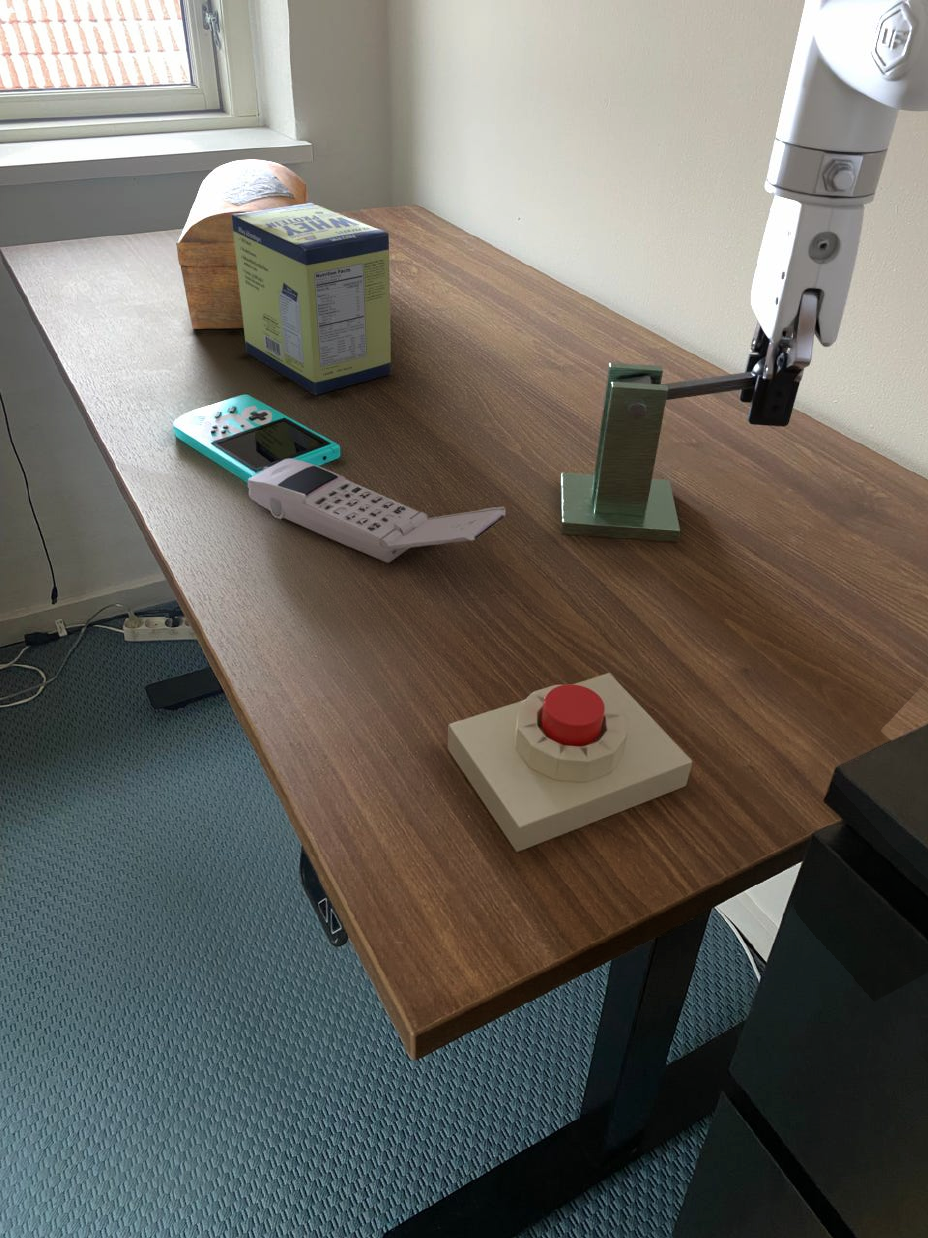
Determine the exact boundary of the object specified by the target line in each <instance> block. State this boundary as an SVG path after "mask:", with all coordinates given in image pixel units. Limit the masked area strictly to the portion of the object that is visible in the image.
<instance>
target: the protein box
mask: <svg viewBox="0 0 928 1238" xmlns="http://www.w3.org/2000/svg"><path fill="white" fill-rule="evenodd" d="M231 216H232V223H233V233H234V242H235V251H236V261H237V270H238V279H239V288H240V297H241V306H242V316H243V325H244V328H243V331H244V333H243V334H244V341H245V351H246V353H247V354H248V355H250V356H251V357H253V358H255V359H256V360H258V361H259V362H261V363H263V364H264V365H266V366H267V367H269V368H270V369H272V370H274V371H275V372H277V373H278V374H279V375H282V376H284V377H285V378H286V379H288V380H289V381H291V382H293V383H295V384H296V385H298V386H299V387H301V388H302V389H304V390H306V391H307V392H309V393H310V394H312V395H314V396H317V395H321V394H325V393H329V392H332V391H336V390H339V389H342V388H346V387H349V386H353V385H357V384H360V383H364V382H368V381H371V380H375V379H378V378H382V377H385V376H389V375H392V355H391V351H392V350H391V345H392V343H391V290H390V289H391V287H390V283H391V281H390V276H391V275H390V237H389V236H390V234H389V232H386V231H385V230H382V229H379V228H376V227H374V226H371V225H369V224H366V223H364V222H361V221H358V220H356V219H354V218H353V219H352V218H350V217H347V216H345V215H343V214H340V213H338V212H336V211H332V210H330V209H328V208H325V207H323V206H320V205H318V204H315V203H313V202H308V204H301V205H294V206H288V207H281V208H274V209H267V210H260V211H253V212H246V213H239V214H232V215H231Z"/></svg>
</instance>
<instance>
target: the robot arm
mask: <svg viewBox="0 0 928 1238" xmlns="http://www.w3.org/2000/svg"><path fill="white" fill-rule="evenodd" d="M781 106H782V107H781V112H780V115H779V121H778V125H777V130H776V134H775V138H774V143H773V146H772V151H771V156H770V160H769V165H768V170H767V174H766V175H767V176H766V180H765V182H764V189H765V191H766V192H768V193H770V194H771V195H774V198H773V201H772V205H771V206H770V212H769V215H768V219H767V222H766V226H765V230H764V234H763V237H762V240H761V241H762V242H761V246H760V248H759V249H760V250H759V254H758V258H757V262H756V266H755V271H754V276H753V281H752V286H751V294H750V304H751V307H752V311H753V313H754V315H755V317H756V319H757V320H756V325H755V328H754V332H753V335H752V339H751V342H750V353H748V355H747V360H746V364H745V368H744V373H745V372H752V370H753V368H754V366H755V365H756V363H757V362H758V361H760V360H761V359H762V358H764V357H766V361H765V366H764V371H763V375H759V374H758V377H757V381H756V385H755V389H754V388H749V389H742V390H739V395H738V397H739V400H740V402H741V403H747V404H750V406H749V409H748V410H749V411H748V414H747V420H748V423H749V424H750V425H754V426H767V427H783V428H784V427H787V426H788V425H789V424H790V420H791V418H792V417H791V416H792V413H793V409H794V406H795V403H796V398H797V395H798V391H799V387H800V383H801V381H802V379H803V375H804V371H805V368H808V367H809V366H810V365H811V362H812V358H813V349H814V341H815V337H816V339H817V340H818V342H819V343H820V345H821V346H822V347H824V348H829V347H831V346H832V345H834V344H835V342H836V341H837V340H838V339H837V338H838V334H839V331H840V329H841V328H840V327H841V324H842V319H843V315H844V312H845V307H846V302H847V300H848V295H849V291H850V287H851V282H852V278H853V275H854V270H855V266H856V261H857V257H858V251H859V246H860V241H861V235H862V229H863V223H864V215H865V213H864V212H865V205H868V204H871V203H872V202H873V201H874V199H875V196H876V192H877V188H878V185H879V180H880V178H881V174H882V171H883V167H884V163H885V160H886V157H887V153H888V150H889V149H888V148H889V146H890V144H891V139H892V136H893V132H894V130H895V126H896V122H897V119H898V115H899V111H907V112H928V0H805V2H804V6H803V11H802V16H801V20H800V25H799V29H798V34H797V39H796V44H795V47H794V52H793V56H792V62H791V66H790V70H789V75H788V79H787V84H786V89H785V93H784V97H783V101H782V105H781ZM778 355H780V356H779V357H778V359H777V356H778Z"/></svg>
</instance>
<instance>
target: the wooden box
mask: <svg viewBox="0 0 928 1238" xmlns="http://www.w3.org/2000/svg"><path fill="white" fill-rule="evenodd" d="M308 196H309V195H308V188H307V184H306V182H305V181H304V180H303V179H302V178H301V177H300V176H299V175H297V174H296V173H295V172H294V171H292V170H291V169H290V168H288V167H286V166H284V165H282V164H279V163H277V162H273V161H269V160H265V159H264V160H263V159H240V160H234V161H231V162H228V163H225V164H222V165H219V166H218V167H216V168H215V169H213V170H212V171H211V172H210V173H209V174H208V175H207V176H206V177H205V179H203V181H202V183H201V185H200V187H199V190H198V193H197V195H196V198H195V201H194V203H193V205H192V208H191V209H190V212H189V215H188V218H187V221H186V222H185V225H184V227H183V229H182V232H181V234H180V237H179V239H178V241H177V242H176V244H175V245H176V252H177V260H178V264H179V266H180V271H181V275H182V282H183V287H184V291H185V297H186V302H187V303H186V304H187V307H188V313H189V314H188V315H189V318H190V323H191V328H192V329H194V330H205V329H206V330H207V329H208V330H209V329H210V330H211V329H214V330H215V329H216V330H219V329H220V330H222V329H244V325H243V316H242V306H241V297H240V288H239V279H238V270H237V261H236V251H235V242H234V233H233V223H232V216H231V215H232V214H239V213H246V212H253V211H260V210H267V209H274V208H281V207H288V206H294V205H301V204H308V203H309V197H308Z"/></svg>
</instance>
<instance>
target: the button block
mask: <svg viewBox="0 0 928 1238" xmlns="http://www.w3.org/2000/svg"><path fill="white" fill-rule="evenodd" d="M561 685H562V684H554V685H551V686H547V687H543V688H541V689H538V690H534V691H532V692H531V693H530V694H529V695H528V696H527V697H526V698H525V699H523V700H519V701H517V702H514V703H510V704H508V705H505V706H501V707H499V708H496V709H495V708H494V709H492V710H489V711H486V712H483V713H480V714H476V715H474V716H469V717H467V718H464V719H462V720H458V721H455V722H452V723H449V724H448V727H447V728H448V732H447V750H448V752H449V754H450V755H451V756H452V758H453V759H454V761H455V762H456V764H457V765H458V768H460V770H461V771H462V774H464V776H465V777H466V779H467V780H468V782H469V783H470V785H471V787H472V788H473V790H474V792H476V794H477V795H478V797H479V799H480V800H481V802H482V803H483V804H484V806H485V807H486V809H487V810H488V812H489V814H490V815H491V816H492V818H493V820H494V821H495V822H496V824H497V825H498V827H499V828H500V830H501V831H502V833H503V834H504V836H505V837H506V839H507V840H508V841H509V843H510V846H512V847H513V849H514V851H515V852H516V853H519V852H521V851H523V850H526V849H529V848H532V847H534V846H536V845H539V844H542V843H544V842H547V841H550V840H552V839H555V838H557V837H559V836H560V837H561V836H562V835H565V834H567V833H569V832H573V831H575V830H577V829H581V828H582V827H585V826H587V825H590V824H593V823H595V822H598V821H600V820H603V819H605V818H608V817H610V816H614V815H616V814H618V813H621V812H623V811H626V810H628V809H631V808H634V807H636V806H638V805H642V804H644V803H646V802H649V801H651V800H654V799H656V798H660V797H662V796H664V795H666V794H669V793H672V792H674V791H677V790H679V789H683V788H685V787H687V784H688V780H689V776H690V772H691V769H692V766H693V760H692V759H691V758H690V757H689V756H688V755H687V754H686V753H685V752H684V751H683V749H682V748H681V747H680V746H679V745H678V744H677V743H676V742H675V740H673V739H672V738H671V737H670V736H669V735H668V734H667V732H665V730H664V729H663V728H662V727H661V726H660V725H659V724H658V723H657V722H656V721H655V720H654V719H653V718H652V716H650V714H648V712H647V711H646V710H645V709H644V708H643V707H642V706H641V704H639V702H637V701H636V699H635V698H634V697H633V696H632V695H631V694H630V693H629V692H628V691H627V690H626V688H625V687H624V686H622V684H620V683H619V681H618V680H617V679H616V678H615V677H614V675H612V674H611V673H610V672H607V673H604V674H601V675H597V676H594V677H592V678H588V679H585V680H582V681H578V682H576V683H573V684H572V685H580V686H583V687H586V688H589V689H591V690H593V691H594V692H595V693H597V694H598V695H599V696H600V697H601V699H602V700H603V703H604V706H605V711H604V717H603V723H602V728H601V733H600V735H599V737H598V738H597V739H596V740H595V741H593V742H592V743H590V744H588V745H584V746H566V745H562V744H560V743H558V742H555V741H553V740H552V739H550V738H549V737H548V736H547V735H546V734H545V732H544V730H543V728H542V724H541V721H542V712H543V704H544V698H545V696H546V695H547V693H548V692H549V691H550V690H552V689H553V688H555V687H558V686H561Z"/></svg>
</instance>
